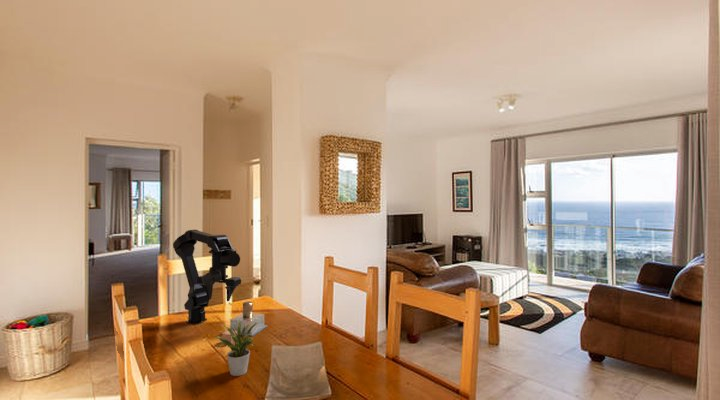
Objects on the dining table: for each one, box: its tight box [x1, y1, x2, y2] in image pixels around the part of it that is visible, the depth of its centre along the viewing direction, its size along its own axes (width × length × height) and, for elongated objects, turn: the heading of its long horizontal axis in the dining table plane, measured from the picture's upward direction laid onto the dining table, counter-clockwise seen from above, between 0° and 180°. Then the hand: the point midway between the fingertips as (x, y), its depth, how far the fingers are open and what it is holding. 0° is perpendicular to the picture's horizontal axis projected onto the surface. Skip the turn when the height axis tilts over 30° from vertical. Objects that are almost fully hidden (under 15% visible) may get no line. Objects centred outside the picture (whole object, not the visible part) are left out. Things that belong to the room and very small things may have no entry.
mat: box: [237, 324, 269, 337], centre depth 161 cm, size 12×12×1 cm
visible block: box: [221, 329, 238, 345], centre depth 147 cm, size 4×4×4 cm
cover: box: [229, 301, 265, 334], centre depth 161 cm, size 10×10×11 cm
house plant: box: [214, 320, 259, 377], centre depth 123 cm, size 14×14×16 cm
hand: (218, 300), depth 162 cm, fingers open, 9 cm apart
